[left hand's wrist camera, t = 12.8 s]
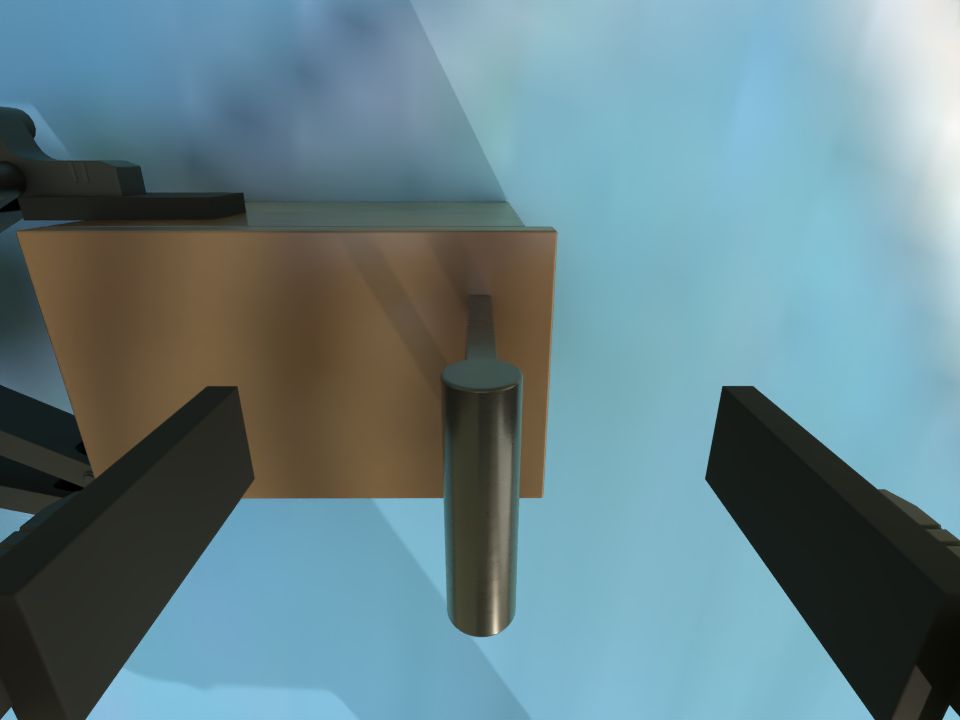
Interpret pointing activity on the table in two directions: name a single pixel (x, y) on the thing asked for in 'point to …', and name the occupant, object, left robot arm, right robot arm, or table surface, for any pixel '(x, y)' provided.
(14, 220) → the right robot arm
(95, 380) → the lid
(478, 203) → the chest
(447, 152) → the table surface
